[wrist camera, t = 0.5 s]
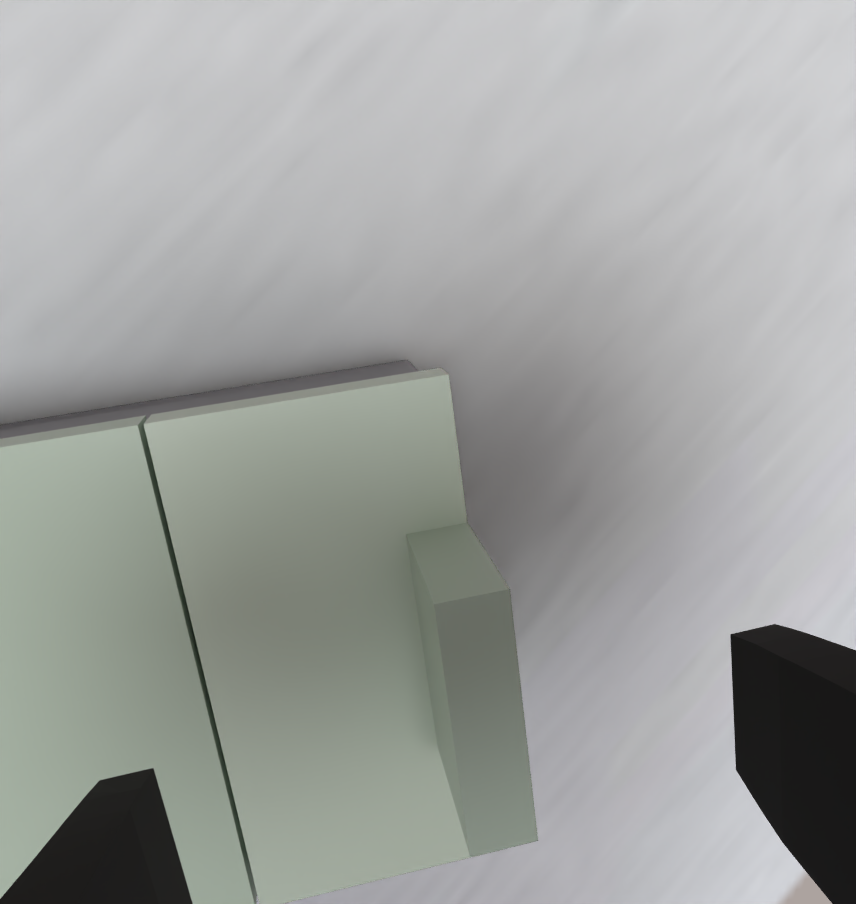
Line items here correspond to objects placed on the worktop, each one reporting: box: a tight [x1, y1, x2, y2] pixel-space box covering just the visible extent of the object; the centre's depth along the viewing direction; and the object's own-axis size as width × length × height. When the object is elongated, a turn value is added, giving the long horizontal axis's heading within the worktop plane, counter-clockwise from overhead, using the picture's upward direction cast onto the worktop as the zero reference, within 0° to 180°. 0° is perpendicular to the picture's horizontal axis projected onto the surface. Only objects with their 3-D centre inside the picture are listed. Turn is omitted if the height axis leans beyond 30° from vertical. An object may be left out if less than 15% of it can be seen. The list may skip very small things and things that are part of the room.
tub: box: [0, 360, 418, 439], centre depth 17 cm, size 10×16×3 cm, turn 97°
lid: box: [0, 368, 538, 904], centre depth 13 cm, size 11×16×4 cm, turn 97°
